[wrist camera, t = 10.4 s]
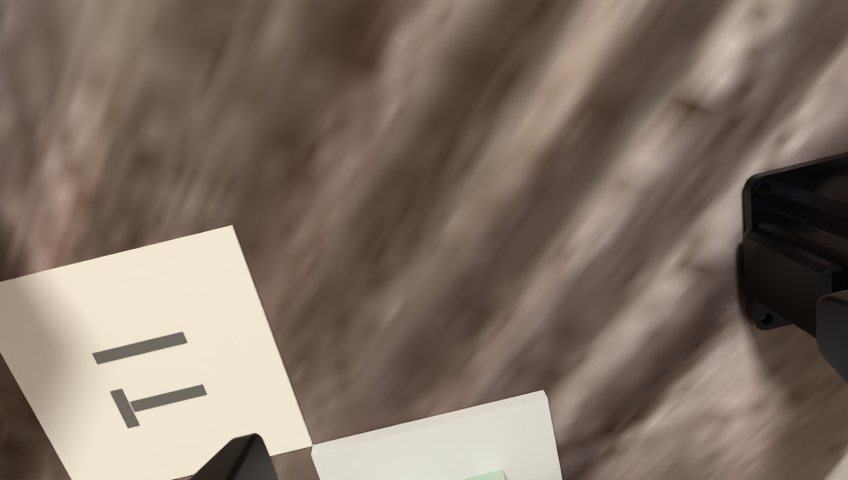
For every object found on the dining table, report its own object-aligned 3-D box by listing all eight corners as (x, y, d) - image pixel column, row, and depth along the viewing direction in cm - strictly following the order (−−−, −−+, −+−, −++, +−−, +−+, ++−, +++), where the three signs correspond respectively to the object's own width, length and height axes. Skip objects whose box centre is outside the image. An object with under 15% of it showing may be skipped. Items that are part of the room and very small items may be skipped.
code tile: (235, 222, 20) (231, 226, 20) (314, 439, 23) (312, 446, 23) (-27, 286, 20) (-35, 290, 20) (88, 493, 23) (83, 501, 23)
